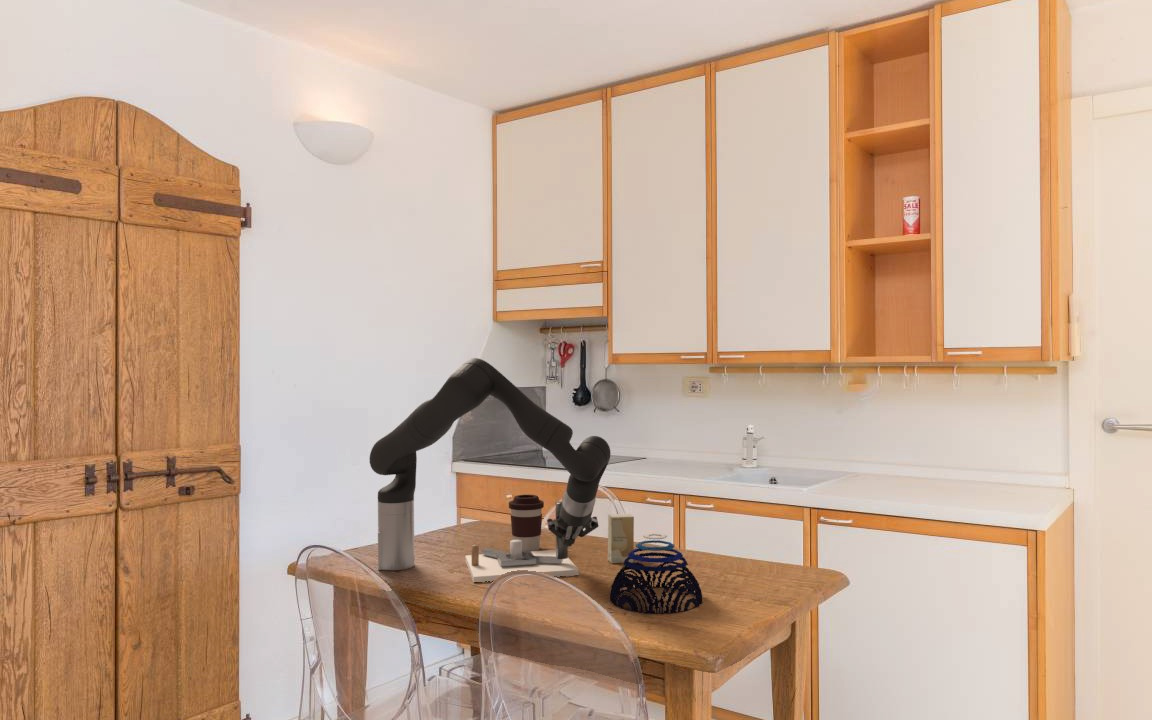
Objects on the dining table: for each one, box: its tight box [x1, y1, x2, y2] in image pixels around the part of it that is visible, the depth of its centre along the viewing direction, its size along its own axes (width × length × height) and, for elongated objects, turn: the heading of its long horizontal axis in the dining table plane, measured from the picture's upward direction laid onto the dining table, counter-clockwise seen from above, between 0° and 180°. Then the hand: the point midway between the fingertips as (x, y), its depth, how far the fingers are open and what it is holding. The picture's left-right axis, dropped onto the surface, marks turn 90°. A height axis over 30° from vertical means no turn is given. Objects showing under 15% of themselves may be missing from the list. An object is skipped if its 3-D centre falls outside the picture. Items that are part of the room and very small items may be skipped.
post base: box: [465, 539, 580, 583], centre depth 206 cm, size 26×22×7 cm
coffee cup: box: [508, 494, 545, 552], centre depth 227 cm, size 10×10×15 cm
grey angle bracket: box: [480, 501, 569, 566], centre depth 209 cm, size 20×17×15 cm
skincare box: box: [607, 513, 635, 564], centre depth 212 cm, size 6×4×12 cm
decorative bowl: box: [609, 532, 703, 615], centre depth 178 cm, size 20×20×14 cm
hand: (567, 543), depth 199 cm, fingers closed
